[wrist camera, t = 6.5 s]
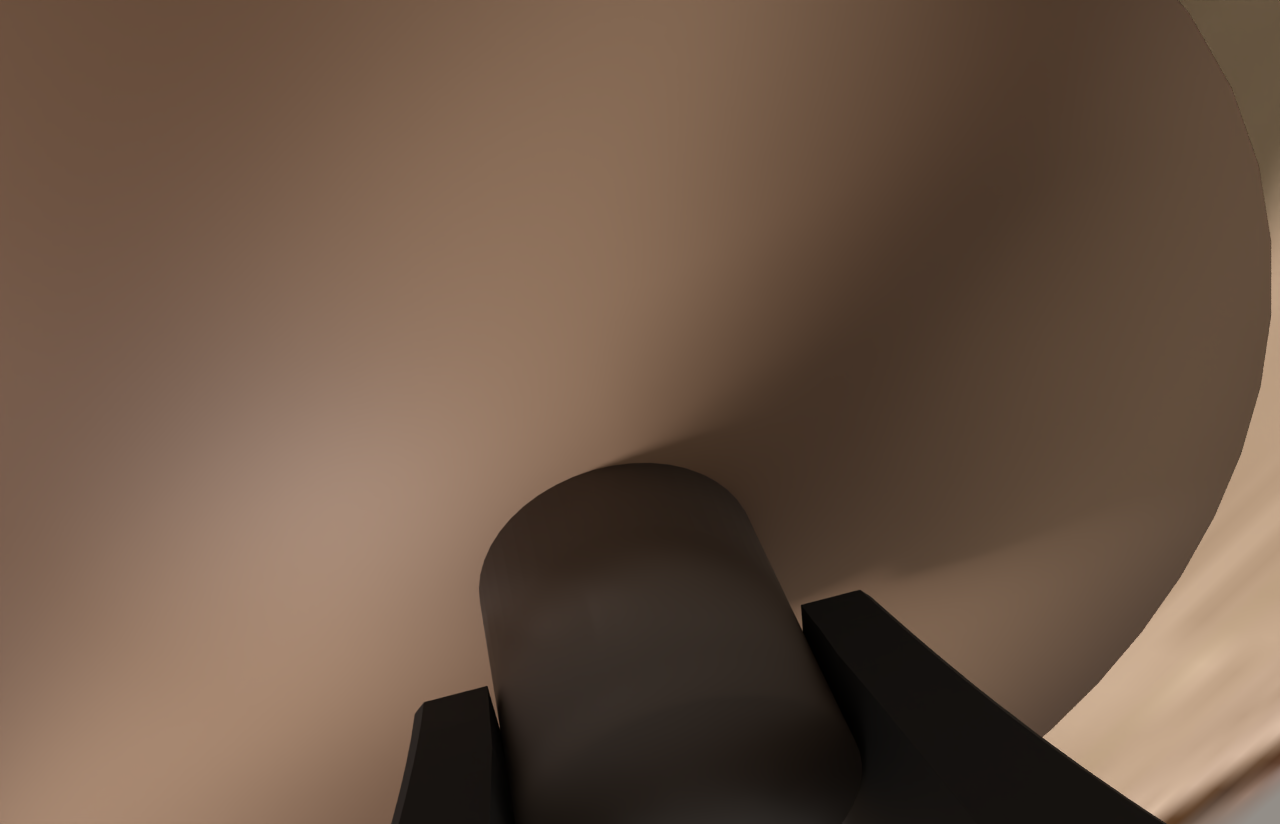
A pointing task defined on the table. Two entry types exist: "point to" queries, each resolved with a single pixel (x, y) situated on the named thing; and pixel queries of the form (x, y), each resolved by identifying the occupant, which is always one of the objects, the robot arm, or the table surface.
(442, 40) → the lid
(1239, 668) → the table surface
